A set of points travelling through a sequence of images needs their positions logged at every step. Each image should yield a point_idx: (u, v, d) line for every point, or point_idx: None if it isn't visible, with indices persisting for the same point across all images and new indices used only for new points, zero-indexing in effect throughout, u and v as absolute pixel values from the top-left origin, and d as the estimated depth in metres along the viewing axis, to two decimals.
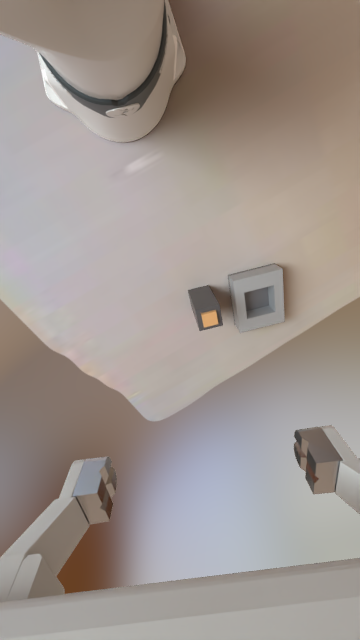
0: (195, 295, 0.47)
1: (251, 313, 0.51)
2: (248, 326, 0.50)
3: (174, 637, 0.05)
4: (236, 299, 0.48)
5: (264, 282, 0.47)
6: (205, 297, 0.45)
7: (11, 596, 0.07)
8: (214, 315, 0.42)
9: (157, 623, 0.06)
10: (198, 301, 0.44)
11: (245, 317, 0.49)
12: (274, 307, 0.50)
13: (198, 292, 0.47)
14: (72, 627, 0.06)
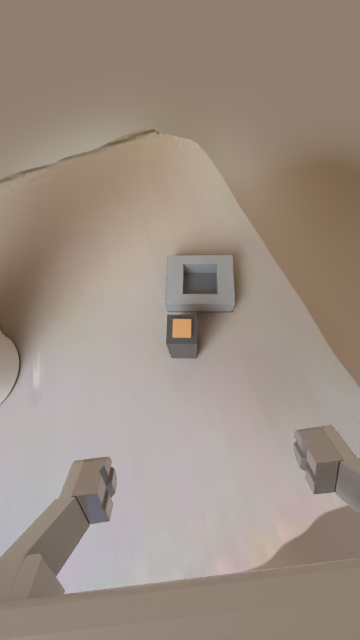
0: None
1: (216, 290, 0.43)
2: (228, 293, 0.41)
3: (174, 637, 0.05)
4: (188, 302, 0.41)
5: (177, 273, 0.43)
6: None
7: (11, 596, 0.07)
8: (177, 321, 0.34)
9: (157, 623, 0.06)
10: None
11: (215, 295, 0.41)
12: (212, 265, 0.44)
13: None
14: (72, 627, 0.06)
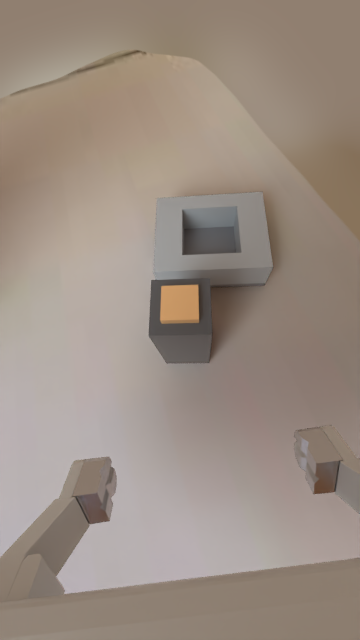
0: None
1: (238, 250, 0.26)
2: (260, 250, 0.24)
3: (174, 637, 0.05)
4: (192, 268, 0.24)
5: (172, 223, 0.26)
6: None
7: (11, 596, 0.07)
8: (171, 290, 0.17)
9: (157, 623, 0.06)
10: None
11: (237, 255, 0.24)
12: (229, 209, 0.27)
13: None
14: (71, 627, 0.06)
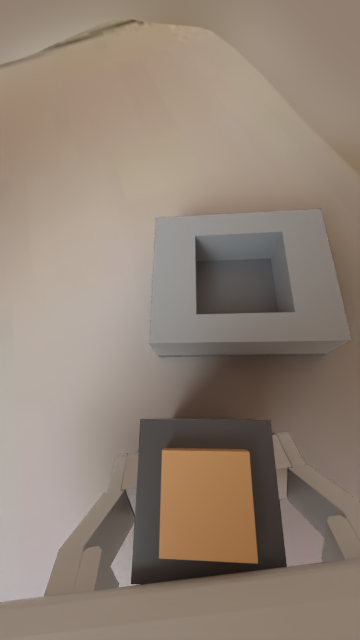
0: None
1: (283, 300, 0.17)
2: (326, 309, 0.15)
3: (174, 637, 0.05)
4: (214, 339, 0.15)
5: (179, 259, 0.17)
6: None
7: (77, 588, 0.07)
8: (185, 466, 0.07)
9: (157, 623, 0.06)
10: None
11: (288, 316, 0.15)
12: (268, 236, 0.17)
13: None
14: (71, 627, 0.06)
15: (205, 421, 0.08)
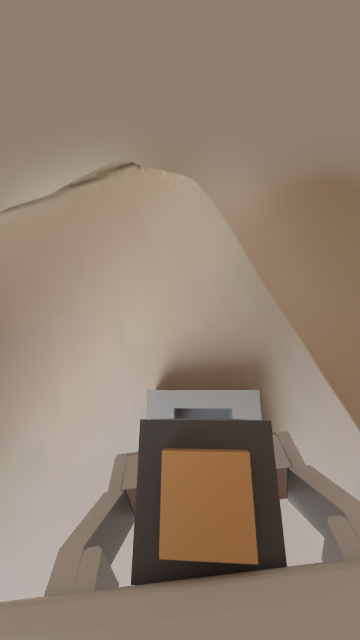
0: None
1: None
2: None
3: (174, 637, 0.05)
4: None
5: None
6: None
7: (77, 588, 0.07)
8: (185, 466, 0.07)
9: (157, 623, 0.06)
10: None
11: None
12: (223, 408, 0.25)
13: None
14: (71, 627, 0.06)
15: (205, 421, 0.08)
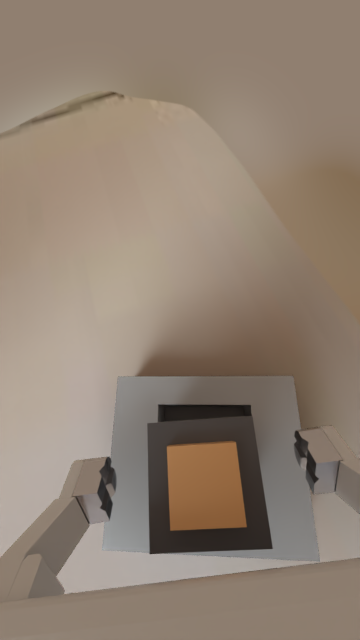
0: None
1: None
2: (294, 516, 0.13)
3: (174, 637, 0.05)
4: None
5: (140, 435, 0.15)
6: None
7: (11, 596, 0.07)
8: (186, 457, 0.09)
9: (157, 623, 0.06)
10: None
11: None
12: None
13: None
14: (71, 627, 0.06)
15: (200, 421, 0.10)
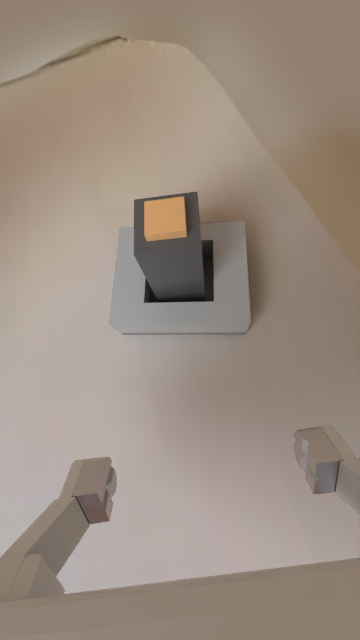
0: None
1: None
2: (236, 299, 0.20)
3: (174, 637, 0.05)
4: (154, 320, 0.20)
5: (135, 261, 0.22)
6: None
7: (11, 596, 0.07)
8: (155, 205, 0.15)
9: (157, 623, 0.06)
10: None
11: (208, 304, 0.20)
12: (204, 242, 0.22)
13: None
14: (71, 627, 0.06)
15: (165, 196, 0.16)
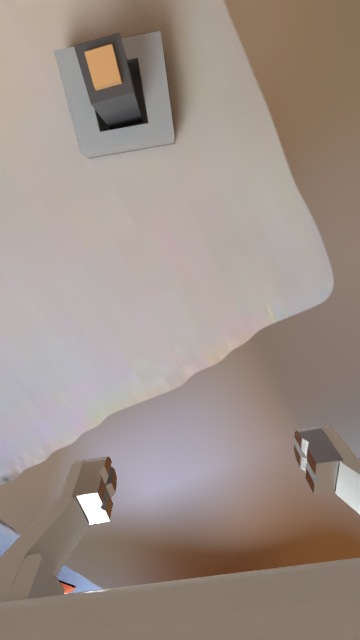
0: None
1: None
2: (163, 119, 0.29)
3: (174, 637, 0.05)
4: (111, 146, 0.30)
5: (80, 90, 0.28)
6: None
7: (11, 596, 0.07)
8: (93, 55, 0.22)
9: (157, 623, 0.06)
10: None
11: (145, 126, 0.29)
12: (131, 60, 0.27)
13: None
14: (71, 626, 0.06)
15: (97, 40, 0.22)
